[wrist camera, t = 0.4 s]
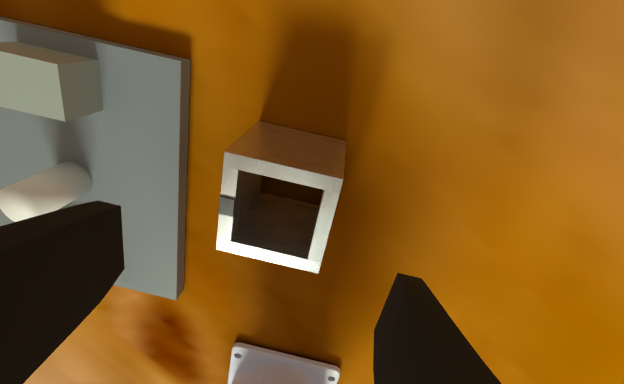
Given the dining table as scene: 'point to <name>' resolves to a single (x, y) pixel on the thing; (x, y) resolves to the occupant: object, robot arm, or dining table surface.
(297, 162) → the box
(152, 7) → the dining table surface
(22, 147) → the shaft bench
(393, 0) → the dining table surface
